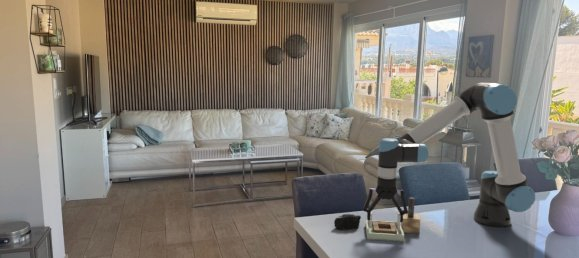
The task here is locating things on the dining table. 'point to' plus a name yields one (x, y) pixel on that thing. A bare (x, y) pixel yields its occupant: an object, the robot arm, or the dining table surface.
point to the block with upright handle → (411, 219)
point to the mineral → (347, 221)
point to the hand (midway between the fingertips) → (384, 228)
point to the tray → (383, 236)
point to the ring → (384, 227)
